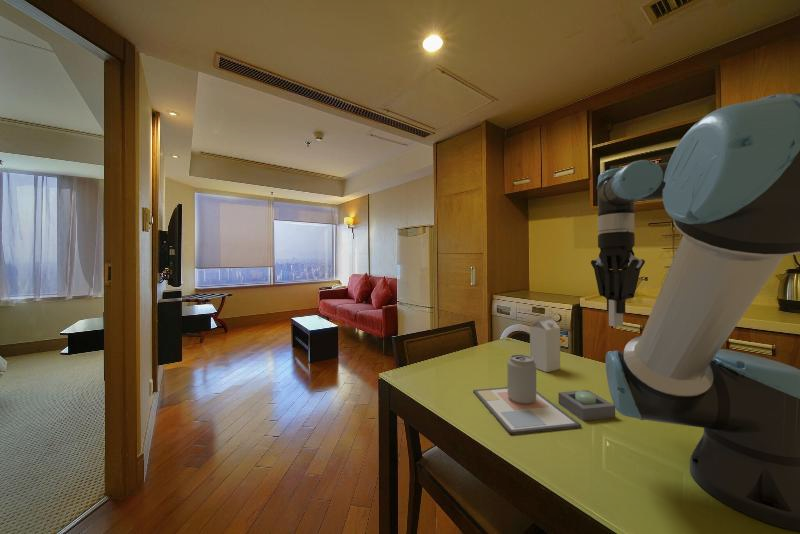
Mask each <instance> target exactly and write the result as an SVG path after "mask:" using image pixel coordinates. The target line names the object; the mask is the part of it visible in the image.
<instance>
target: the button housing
mask: <svg viewBox="0 0 800 534" xmlns="http://www.w3.org/2000/svg"><path fill="white" fill-rule="evenodd" d="M577 391H578V390H573V391H572V390H571V391H560V392H558V400H557V401H558V404H559V405H561V406H562V407H563V408H564V409H566V410H567V411H568V412H570V413H571V414H572V415H575V416H576V418H578V419H580V420H581V421H583V422H584V421H585V422H586V421H592V420H604V419H605V420H606V419H613V418H616V407H615V406H614V403H613V402H610V401H608V400H606V399H604V397H601V396H599V395H597V394H596V393H594V392H592V391H591V390H589V389H583V390H580V391H585V392H589V393H592V394H594V395H595V396H596V404H593V405H583V404H581V403H579V402H578V401H576V400H575V393H576V392H577Z"/></svg>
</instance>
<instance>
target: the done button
mask: <svg viewBox="0 0 800 534" xmlns="http://www.w3.org/2000/svg"><path fill="white" fill-rule="evenodd" d="M576 391H577V392H576V393H575V400H576V401H578V402H579V403H581V404H583V405H593V404H596V396H595V395H594V394H595V393H594V394H592V393H593V392H592V393H589V392H585V391H581V390H576Z"/></svg>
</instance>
